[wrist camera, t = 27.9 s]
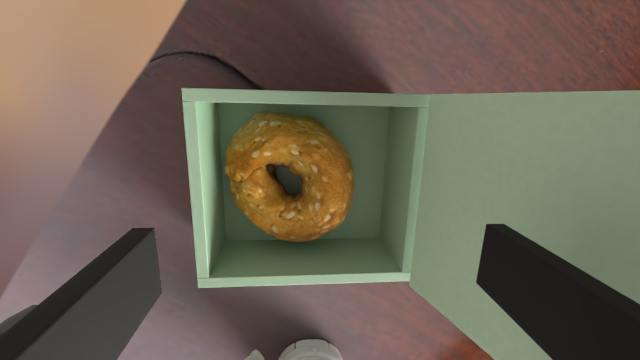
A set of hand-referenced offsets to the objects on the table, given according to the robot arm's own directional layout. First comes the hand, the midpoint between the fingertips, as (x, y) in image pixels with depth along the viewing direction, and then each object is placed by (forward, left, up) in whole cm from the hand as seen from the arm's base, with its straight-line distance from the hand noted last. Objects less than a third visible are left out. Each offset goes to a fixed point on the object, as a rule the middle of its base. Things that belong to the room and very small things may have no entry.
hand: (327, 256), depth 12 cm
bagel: (0, -2, -15) cm, 15 cm away
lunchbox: (0, 0, -16) cm, 16 cm away
